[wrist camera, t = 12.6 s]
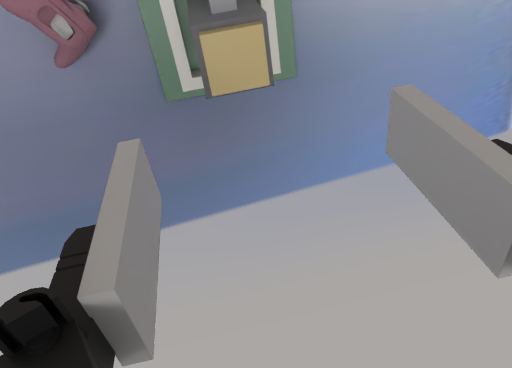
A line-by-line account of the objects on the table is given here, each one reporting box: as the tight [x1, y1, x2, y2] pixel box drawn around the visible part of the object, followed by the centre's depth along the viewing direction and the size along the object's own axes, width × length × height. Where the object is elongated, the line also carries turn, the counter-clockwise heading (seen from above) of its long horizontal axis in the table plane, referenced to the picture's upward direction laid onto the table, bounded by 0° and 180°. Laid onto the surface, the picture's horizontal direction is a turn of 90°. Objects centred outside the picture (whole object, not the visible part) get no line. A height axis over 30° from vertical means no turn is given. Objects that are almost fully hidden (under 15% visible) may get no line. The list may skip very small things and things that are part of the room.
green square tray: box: [137, 0, 297, 102], centre depth 30 cm, size 12×12×3 cm
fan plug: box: [187, 0, 274, 99], centre depth 26 cm, size 4×5×11 cm
